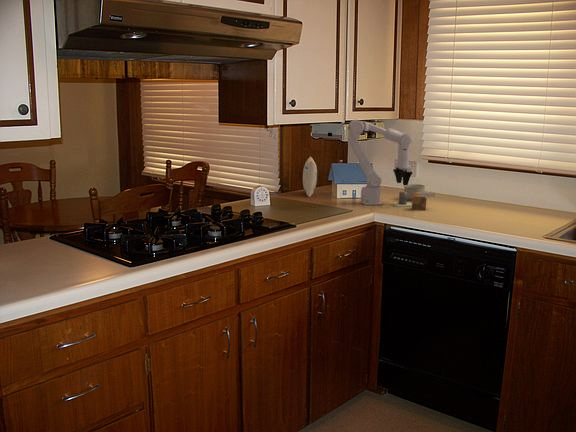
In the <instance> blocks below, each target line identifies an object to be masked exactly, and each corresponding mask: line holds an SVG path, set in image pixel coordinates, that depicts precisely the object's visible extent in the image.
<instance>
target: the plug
mask: <svg viewBox="0 0 576 432" xmlns="http://www.w3.org/2000/svg"><path fill="white" fill-rule="evenodd" d="M398 194H399V195H398V202H399V204H401V205H406V204H407V202H408V199H407V192H404V191H399V193H398Z"/></svg>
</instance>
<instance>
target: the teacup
mask: <svg viewBox="0 0 576 432" xmlns="http://www.w3.org/2000/svg"><path fill="white" fill-rule="evenodd" d="M403 187H404V190H403V192H407V201H411V202H412V198H413V196H414V192H426V191H425V189H426V188H425V187H426V186H425V184H422V183H421V184H419V183H408V185H403Z"/></svg>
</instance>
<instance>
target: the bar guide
mask: <svg viewBox="0 0 576 432" xmlns="http://www.w3.org/2000/svg"><path fill="white" fill-rule="evenodd" d="M427 199H428V197H414V196H413V198H412V201H411V202H412V203H411V204H412V206H411V209H412V210H415V211H426V210H427V209H426V208H427Z"/></svg>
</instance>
